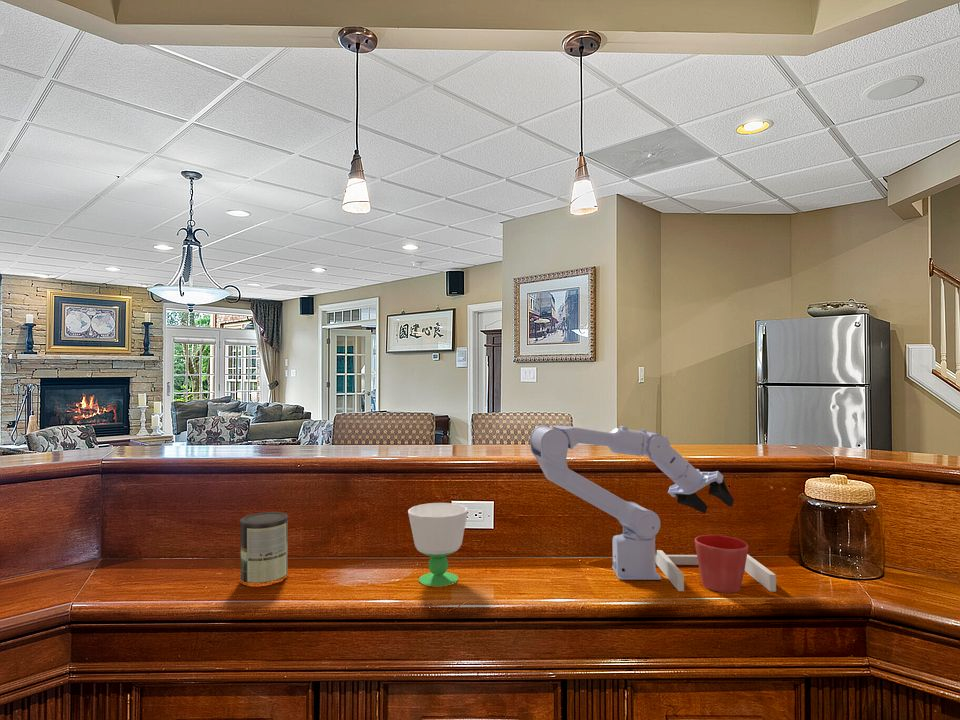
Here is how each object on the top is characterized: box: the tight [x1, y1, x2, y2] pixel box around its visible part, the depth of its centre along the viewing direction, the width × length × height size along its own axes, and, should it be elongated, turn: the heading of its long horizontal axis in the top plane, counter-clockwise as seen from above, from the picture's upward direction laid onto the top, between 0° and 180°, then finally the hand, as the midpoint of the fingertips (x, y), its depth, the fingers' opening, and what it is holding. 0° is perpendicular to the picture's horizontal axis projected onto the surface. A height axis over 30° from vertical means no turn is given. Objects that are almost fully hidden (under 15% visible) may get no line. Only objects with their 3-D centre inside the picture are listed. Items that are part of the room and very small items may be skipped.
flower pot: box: [694, 534, 749, 593], centre depth 123 cm, size 11×11×10 cm
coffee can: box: [239, 511, 289, 583], centre depth 130 cm, size 10×10×14 cm
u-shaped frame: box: [655, 549, 777, 593], centre depth 129 cm, size 20×18×4 cm
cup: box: [407, 502, 469, 587], centre depth 128 cm, size 14×14×16 cm
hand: (718, 506), depth 135 cm, fingers open, 7 cm apart
